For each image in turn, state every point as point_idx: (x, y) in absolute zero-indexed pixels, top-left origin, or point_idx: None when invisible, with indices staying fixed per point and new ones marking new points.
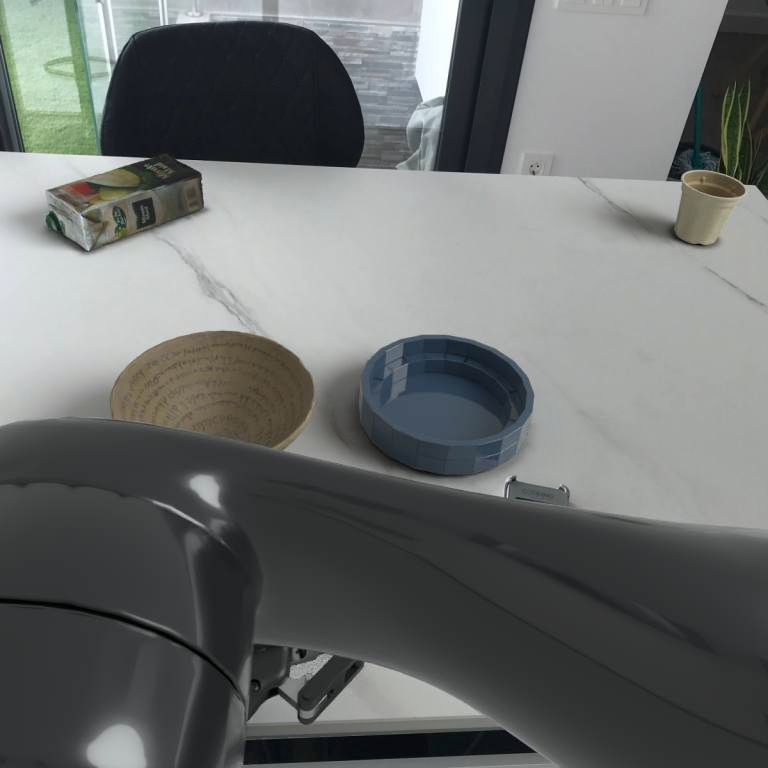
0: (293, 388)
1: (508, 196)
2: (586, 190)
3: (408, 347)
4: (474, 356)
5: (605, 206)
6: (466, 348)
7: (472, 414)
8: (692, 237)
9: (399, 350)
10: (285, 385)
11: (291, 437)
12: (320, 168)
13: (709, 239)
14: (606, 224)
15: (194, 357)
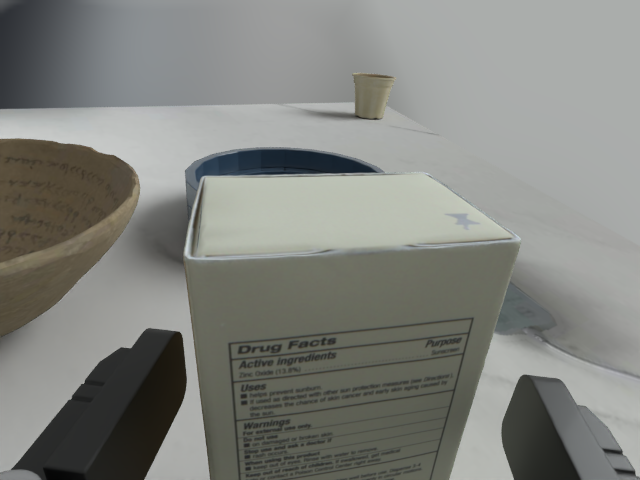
0: (91, 189)
1: (235, 111)
2: (285, 107)
3: (223, 162)
4: (292, 164)
5: (304, 111)
6: (282, 156)
7: None
8: (371, 113)
9: (215, 165)
10: (76, 192)
11: (113, 217)
12: (65, 108)
13: (381, 113)
14: (312, 116)
15: None
